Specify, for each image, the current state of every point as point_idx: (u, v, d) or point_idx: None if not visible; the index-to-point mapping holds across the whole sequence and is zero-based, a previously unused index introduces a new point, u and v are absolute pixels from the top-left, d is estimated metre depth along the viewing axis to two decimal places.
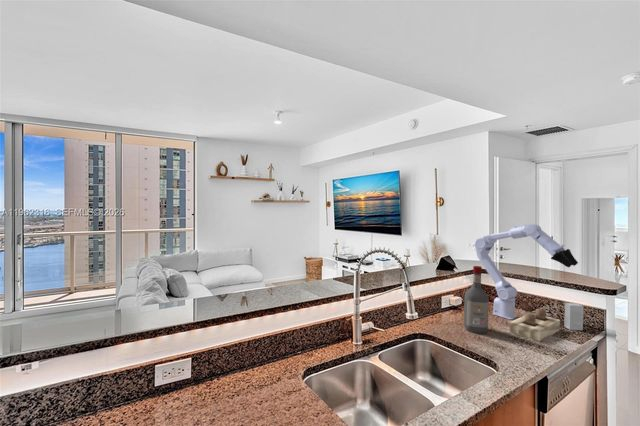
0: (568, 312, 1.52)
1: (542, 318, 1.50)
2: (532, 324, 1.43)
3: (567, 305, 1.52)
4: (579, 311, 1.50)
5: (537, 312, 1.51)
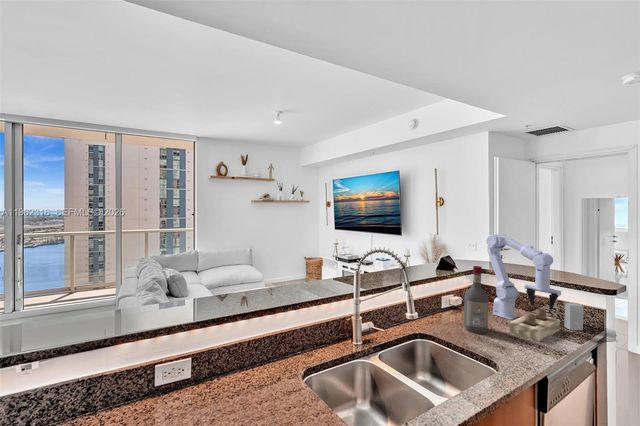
0: (568, 312, 1.52)
1: (542, 318, 1.50)
2: (532, 324, 1.43)
3: (567, 305, 1.52)
4: (579, 311, 1.50)
5: (537, 312, 1.51)
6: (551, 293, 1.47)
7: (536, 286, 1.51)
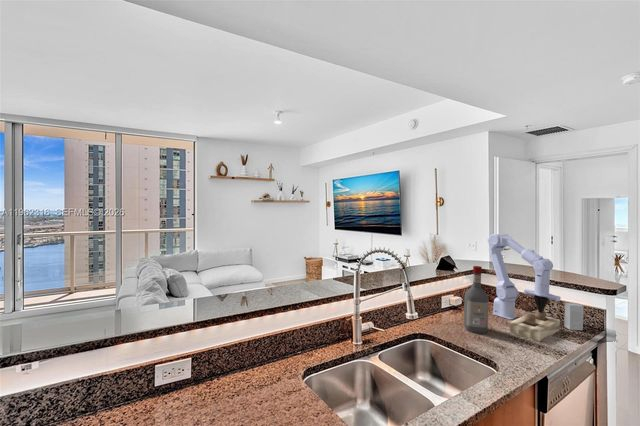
0: (568, 312, 1.52)
1: None
2: (532, 324, 1.43)
3: (567, 305, 1.52)
4: (579, 311, 1.50)
5: (537, 314, 1.51)
6: None
7: (535, 291, 1.51)
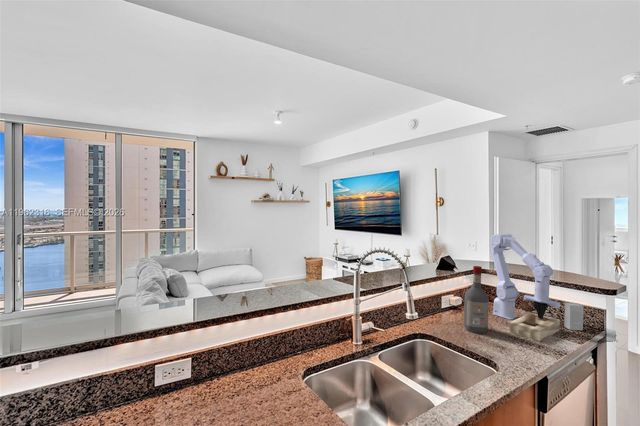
0: (568, 312, 1.52)
1: None
2: (532, 324, 1.43)
3: (567, 305, 1.52)
4: (579, 311, 1.50)
5: None
6: None
7: (535, 297, 1.51)
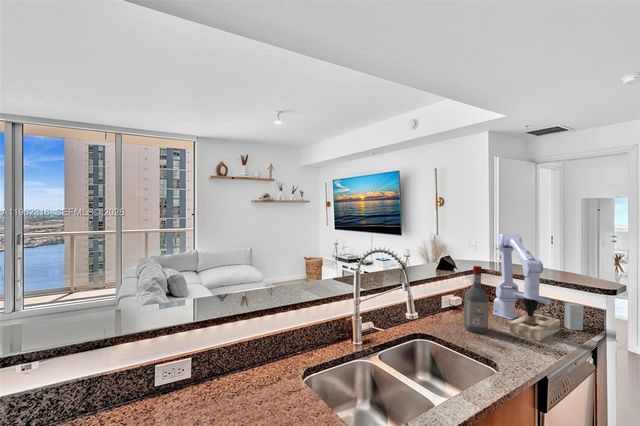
0: (568, 312, 1.52)
1: None
2: (532, 325, 1.43)
3: (567, 305, 1.52)
4: (579, 311, 1.50)
5: None
6: None
7: (525, 294, 1.44)
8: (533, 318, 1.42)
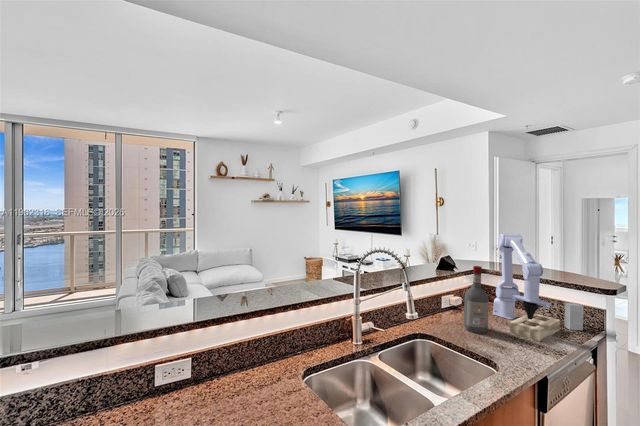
0: (568, 312, 1.52)
1: None
2: None
3: (567, 305, 1.52)
4: (579, 311, 1.50)
5: None
6: (540, 305, 1.41)
7: (525, 297, 1.44)
8: (533, 325, 1.43)
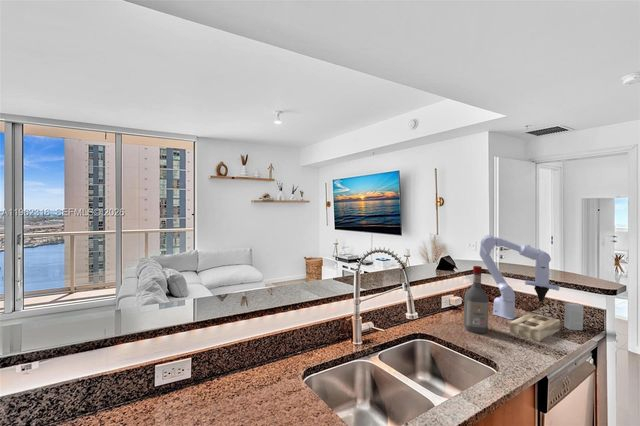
0: (568, 312, 1.52)
1: None
2: None
3: (567, 305, 1.52)
4: (579, 311, 1.50)
5: None
6: (550, 288, 1.57)
7: (536, 282, 1.61)
8: (533, 325, 1.43)
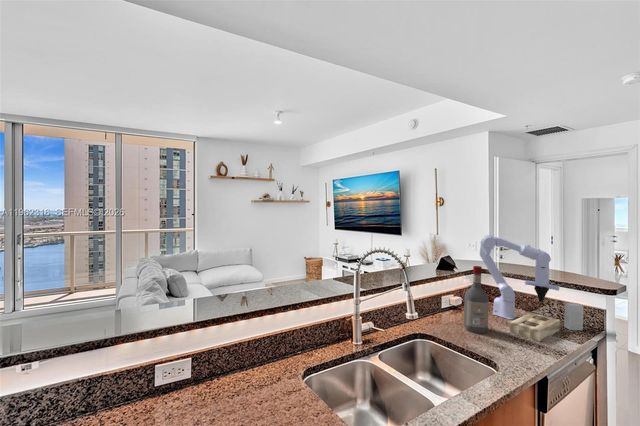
0: (568, 312, 1.52)
1: None
2: None
3: (567, 305, 1.52)
4: (579, 311, 1.50)
5: None
6: (550, 288, 1.57)
7: (536, 282, 1.61)
8: (533, 325, 1.43)
